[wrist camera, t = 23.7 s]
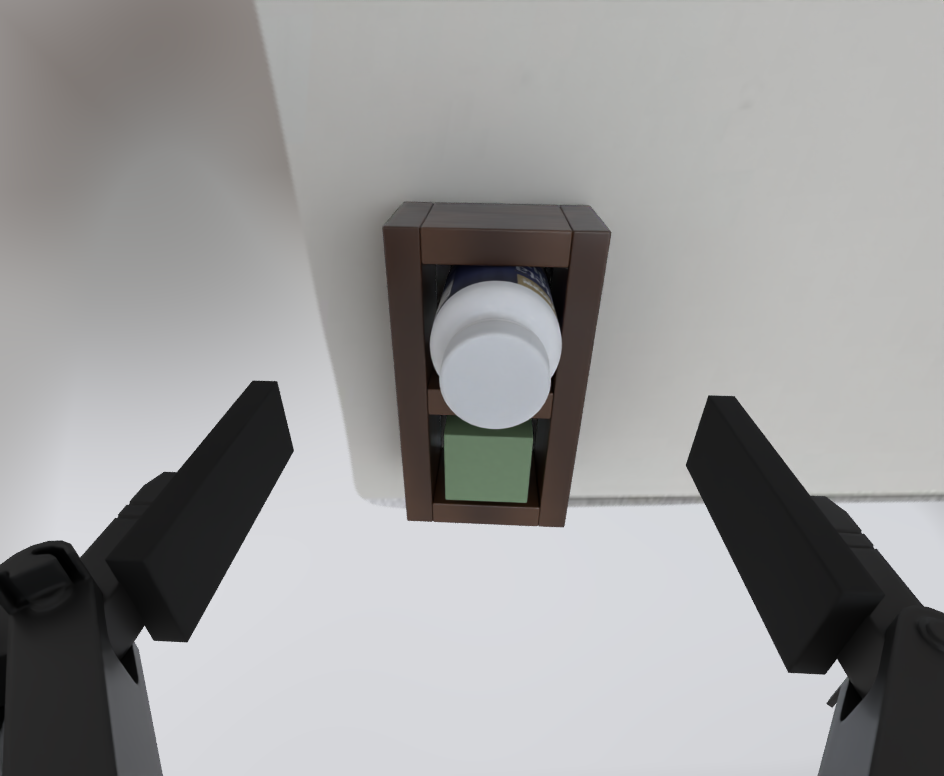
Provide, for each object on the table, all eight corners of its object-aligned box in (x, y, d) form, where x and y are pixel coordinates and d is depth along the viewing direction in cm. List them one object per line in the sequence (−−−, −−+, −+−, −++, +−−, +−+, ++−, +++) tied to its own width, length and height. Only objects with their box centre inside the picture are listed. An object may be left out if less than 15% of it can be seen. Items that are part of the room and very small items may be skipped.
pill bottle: (563, 254, 24) (597, 339, 16) (528, 346, 27) (542, 459, 19) (459, 224, 24) (438, 296, 15) (435, 321, 26) (406, 426, 18)
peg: (453, 437, 31) (445, 500, 26) (452, 377, 28) (443, 434, 24) (522, 440, 30) (527, 503, 26) (527, 380, 28) (533, 438, 23)
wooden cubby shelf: (419, 463, 32) (407, 521, 28) (403, 201, 23) (381, 226, 19) (555, 469, 32) (564, 528, 27) (590, 205, 23) (612, 231, 19)
